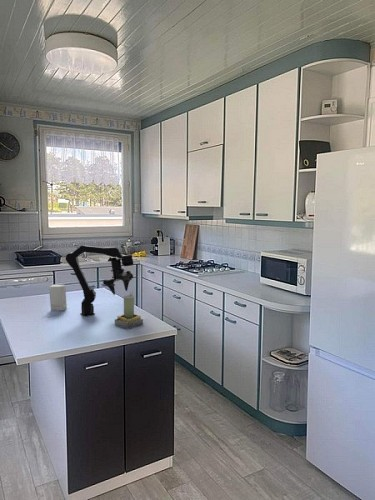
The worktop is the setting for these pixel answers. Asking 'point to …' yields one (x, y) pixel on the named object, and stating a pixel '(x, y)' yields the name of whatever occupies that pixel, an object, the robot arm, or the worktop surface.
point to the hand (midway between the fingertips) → (120, 292)
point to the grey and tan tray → (128, 321)
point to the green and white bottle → (129, 306)
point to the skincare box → (57, 297)
